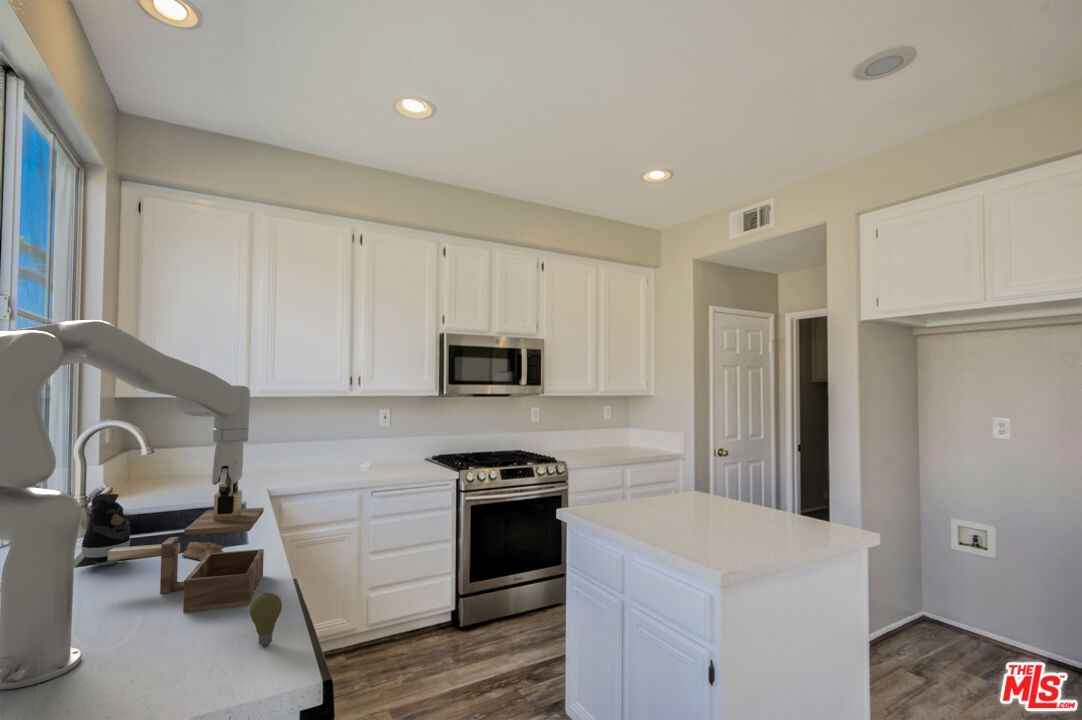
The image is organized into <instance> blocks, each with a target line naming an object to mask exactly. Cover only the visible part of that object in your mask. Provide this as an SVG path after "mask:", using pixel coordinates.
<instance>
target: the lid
mask: <svg viewBox="0 0 1082 720" xmlns="http://www.w3.org/2000/svg"><path fill="white" fill-rule="evenodd" d="M218 493H219V491H218V492H217V493H215V494H214V495H213V498H214V499H213V509H210V510H209V509H208V510H206V511H204V513H203V514H201V515H200V516H199V517H198V518H196V519H195V520H194V521H193V522H192V523H191V524H189V525H188V526H187V527H186V528H184V529H183V533H184V534H183V535H184V536H189V535H191V536H193V535H198V536H199V535H211V534H227V533H228V534H229V533H242V532H250V531H251V530H252V528H253V527H254V525H255V524H256V523H257V522H258V521H259V519H260V518H261V516H262V515H263V514H264V509H265V508H264V507H252V508H251V507H249V508H244V507H243V508H242V503H243V501H242V500H243V499H242V498H243V490H239V489H238V491H232V496H234V497H233V512H232V513H231V514H217V507H218Z"/></svg>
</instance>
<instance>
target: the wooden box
mask: <svg viewBox="0 0 1082 720" xmlns="http://www.w3.org/2000/svg"><path fill="white" fill-rule="evenodd" d="M179 537H180V536H171V537H168V538H167V539H166V540H164V541H163V542H162V543H161V544H162V549H161V556H160V558H161V560H160V581H159V582H160V584H159V585H160V586H159V594H160V595H161V594H169V593H171V592H172V591H181V590H182V589H183V604H182V605H183V609H182V610H183V613H185V614H186V613H193V612H194V613H195V612H201V611H203V612H204V611H210V610H220V609H231V608H238V607H240V608H241V607H247V606H250V605H251V602H252V600H253V598H254V596H255V594H256V592H255V591H257V590H258V587H259V585H260V583H261V581H262V579H261V578H263V577H262V576H264V557H265V556H264V555H265V552H264V551H265V550H264V548H261V549H259V548H258V549H247V550H246V549H245V550H235V551H234V550H233V551H223V552H221V553H208V554H207V555H206V556H205V557H204V558H203V559H202V560H200V561H199V563H198V564H197V565H196V566H195V567H194V569H193V570H192V571H191V572H190V573H189V575H188V576H187V577H186V578H185V579H184V580H183V581H178V573H179V572H178V569H179V568H178V567H179V552H178V553H177V554H176V555H172V546H173V544H174V543H180V542H179ZM260 580H261V581H260ZM259 582H260V583H259ZM256 589H257V590H256ZM254 593H255V594H254ZM253 595H254V596H253Z"/></svg>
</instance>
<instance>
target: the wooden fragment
mask: <svg viewBox="0 0 1082 720" xmlns="http://www.w3.org/2000/svg"><path fill="white" fill-rule="evenodd" d="M222 548H223V545H220V544H218V543H216V542H214V543H213V542H210V541H207V542H206V541H205V542H204V541H203V542H199V541H190V542H189V543H187V546H186V548H185V549H184V551H183V553H182V555H181V557H183V558H184V557H185V558H190V559H194V560H198V561H202V559H203V558H204V557H205V556H206V555H207V554H208V553H221V552H224V550H222Z"/></svg>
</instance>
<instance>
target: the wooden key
mask: <svg viewBox="0 0 1082 720" xmlns="http://www.w3.org/2000/svg"><path fill="white" fill-rule="evenodd" d="M161 549H162V543H161V544H160V543H159V544H148V545H147V544H146V545H135V546H134V545H133V546H129V547H119V548H113V549H111V550H110V551H108V560H116V559H120V560H125V559H138V558H152V557H161ZM179 552H181V542H178V543H174V544H173V546H172V555H176V554H177V553H178V554H179Z"/></svg>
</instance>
